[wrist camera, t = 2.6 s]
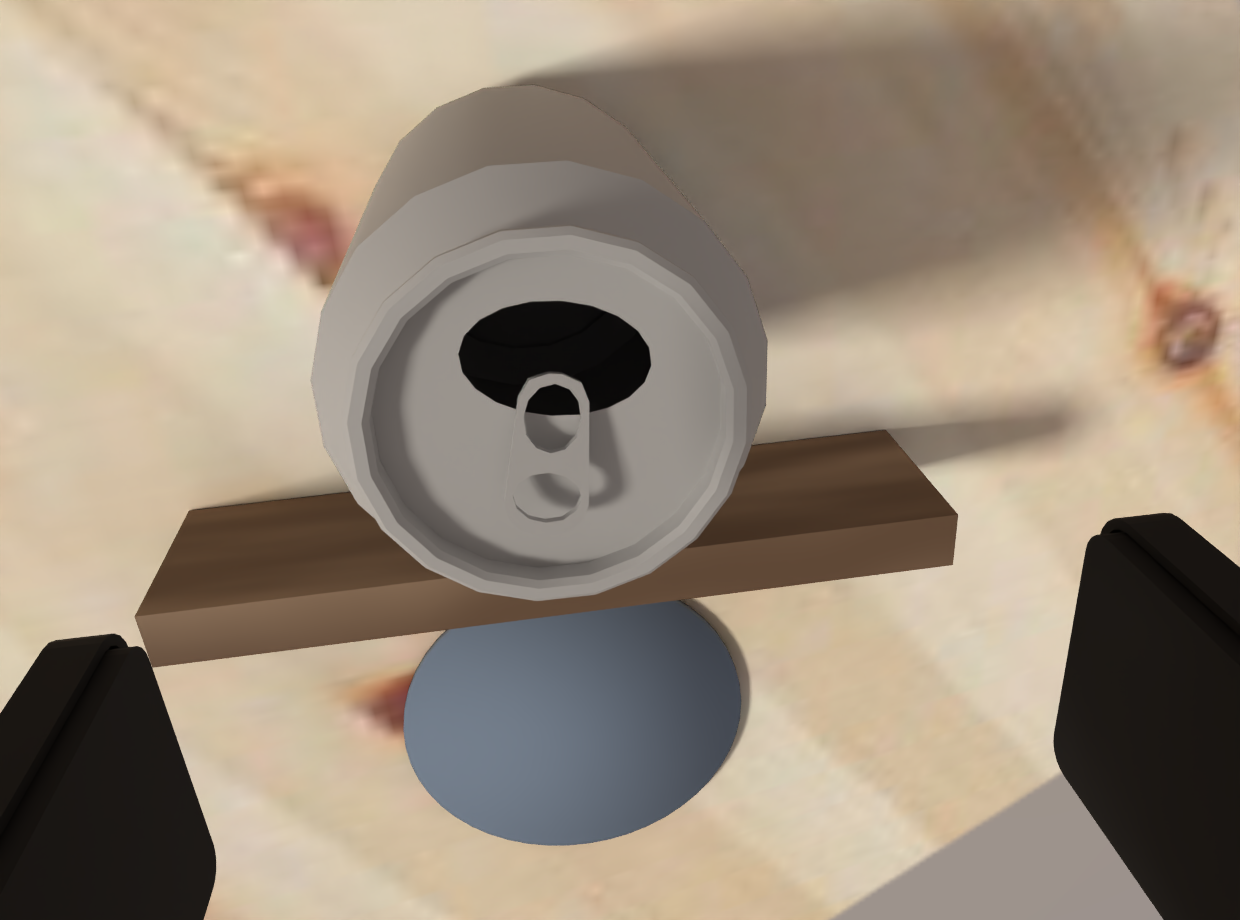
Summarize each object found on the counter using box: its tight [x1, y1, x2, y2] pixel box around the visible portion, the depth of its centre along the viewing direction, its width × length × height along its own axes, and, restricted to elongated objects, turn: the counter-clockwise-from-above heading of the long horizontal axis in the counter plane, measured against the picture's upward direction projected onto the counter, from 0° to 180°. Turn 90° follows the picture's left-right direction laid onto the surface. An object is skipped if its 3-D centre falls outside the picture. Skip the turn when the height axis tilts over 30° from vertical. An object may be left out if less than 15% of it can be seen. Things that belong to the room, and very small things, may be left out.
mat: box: [404, 600, 741, 845], centre depth 33 cm, size 11×11×1 cm
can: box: [311, 85, 767, 601], centre depth 20 cm, size 8×8×12 cm
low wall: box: [135, 430, 958, 667], centre depth 27 cm, size 2×20×5 cm, turn 93°
